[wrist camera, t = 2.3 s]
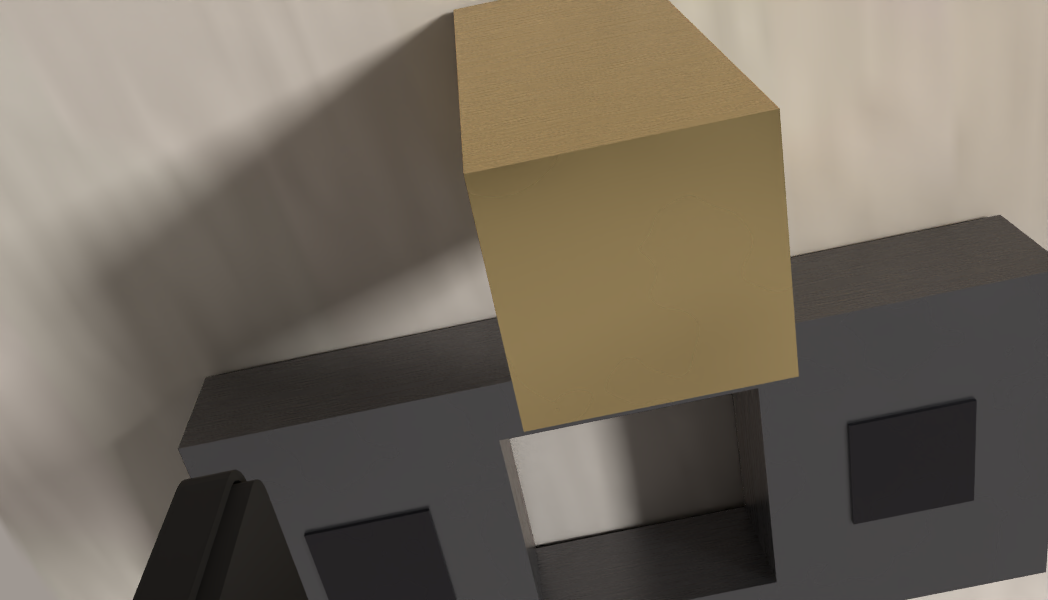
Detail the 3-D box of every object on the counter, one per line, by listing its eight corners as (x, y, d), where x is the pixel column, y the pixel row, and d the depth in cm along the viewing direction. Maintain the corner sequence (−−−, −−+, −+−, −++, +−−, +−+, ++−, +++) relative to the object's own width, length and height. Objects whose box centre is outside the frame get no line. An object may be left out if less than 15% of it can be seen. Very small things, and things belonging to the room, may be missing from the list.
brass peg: (453, 9, 21) (463, 174, 13) (637, -30, 21) (779, 108, 12) (491, 182, 23) (523, 431, 14) (661, 147, 23) (799, 376, 14)
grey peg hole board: (206, 377, 25) (177, 451, 22) (1000, 214, 25) (1070, 269, 22) (309, 634, 29) (296, 722, 26) (989, 498, 29) (1047, 574, 26)
